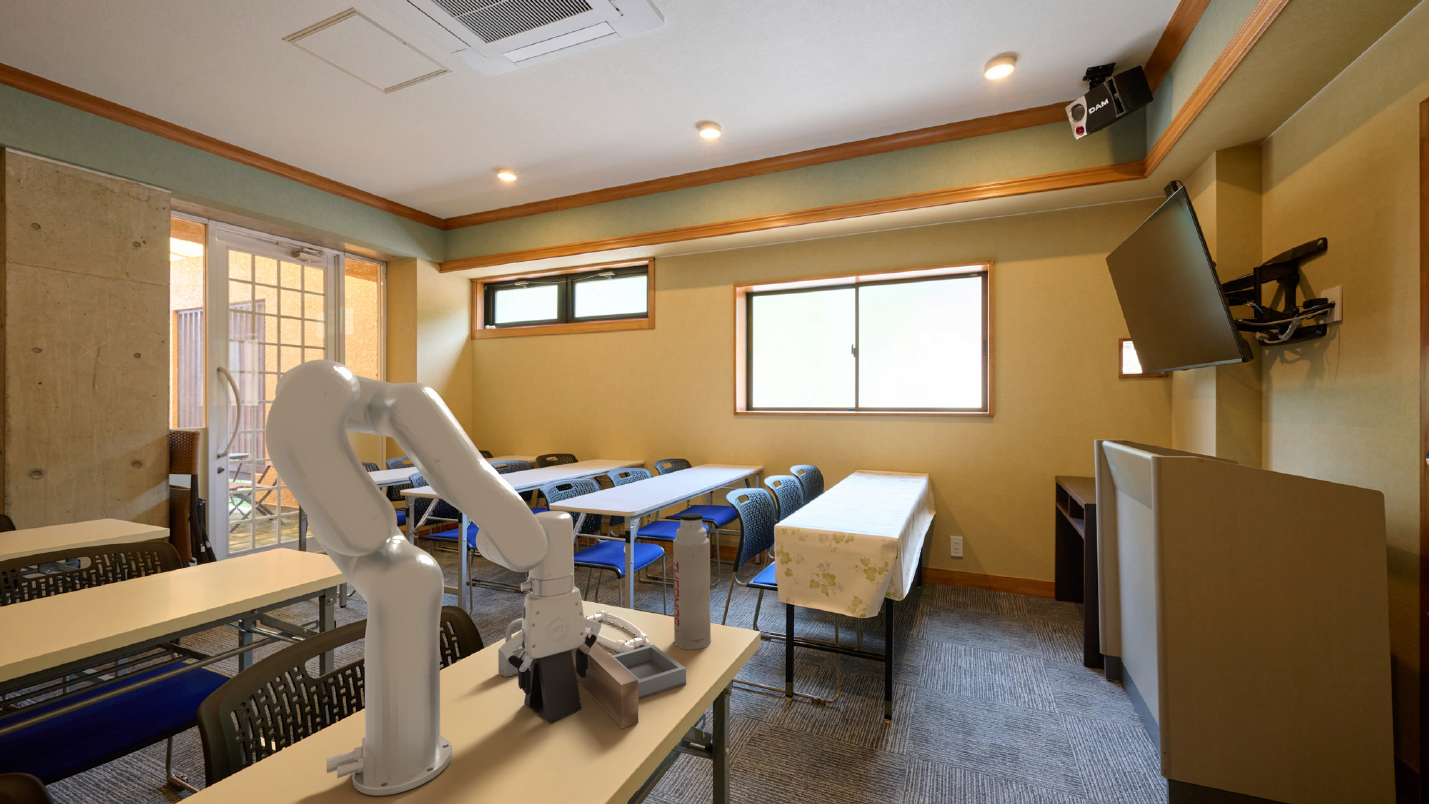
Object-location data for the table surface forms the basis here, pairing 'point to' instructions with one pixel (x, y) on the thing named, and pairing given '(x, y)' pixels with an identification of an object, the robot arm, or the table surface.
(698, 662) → the table surface
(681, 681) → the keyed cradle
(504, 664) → the padlock
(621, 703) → the board
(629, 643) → the door handle
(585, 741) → the table surface
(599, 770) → the table surface
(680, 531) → the thermos bottle
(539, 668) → the door stopper
